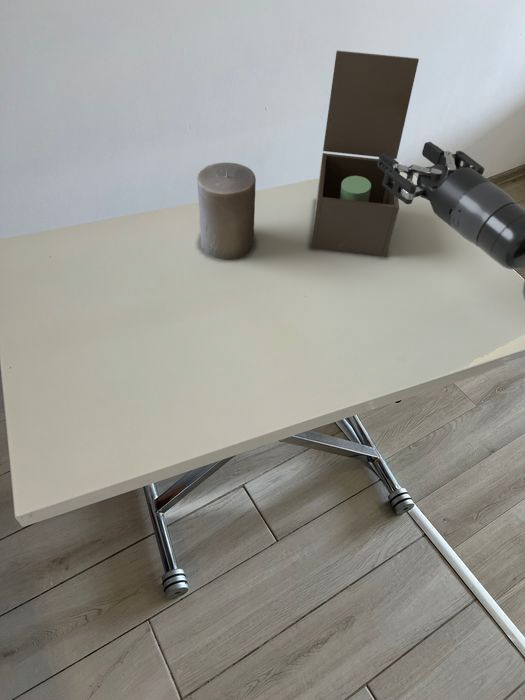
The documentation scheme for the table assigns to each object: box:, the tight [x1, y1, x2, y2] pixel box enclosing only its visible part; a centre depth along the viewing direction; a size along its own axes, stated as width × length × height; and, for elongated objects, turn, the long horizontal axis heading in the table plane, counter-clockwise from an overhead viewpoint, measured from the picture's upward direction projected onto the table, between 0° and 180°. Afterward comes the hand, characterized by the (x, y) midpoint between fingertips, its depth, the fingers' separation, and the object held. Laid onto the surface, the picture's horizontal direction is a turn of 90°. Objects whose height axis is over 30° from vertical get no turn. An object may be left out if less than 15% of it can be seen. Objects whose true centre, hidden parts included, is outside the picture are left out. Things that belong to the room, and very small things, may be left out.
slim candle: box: [340, 176, 371, 202], centre depth 97 cm, size 5×5×9 cm
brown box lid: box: [322, 50, 420, 160], centre depth 93 cm, size 16×14×1 cm
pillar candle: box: [196, 162, 257, 261], centre depth 91 cm, size 10×10×15 cm
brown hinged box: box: [310, 152, 400, 258], centre depth 97 cm, size 16×14×11 cm
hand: (403, 152), depth 82 cm, fingers open, 8 cm apart
